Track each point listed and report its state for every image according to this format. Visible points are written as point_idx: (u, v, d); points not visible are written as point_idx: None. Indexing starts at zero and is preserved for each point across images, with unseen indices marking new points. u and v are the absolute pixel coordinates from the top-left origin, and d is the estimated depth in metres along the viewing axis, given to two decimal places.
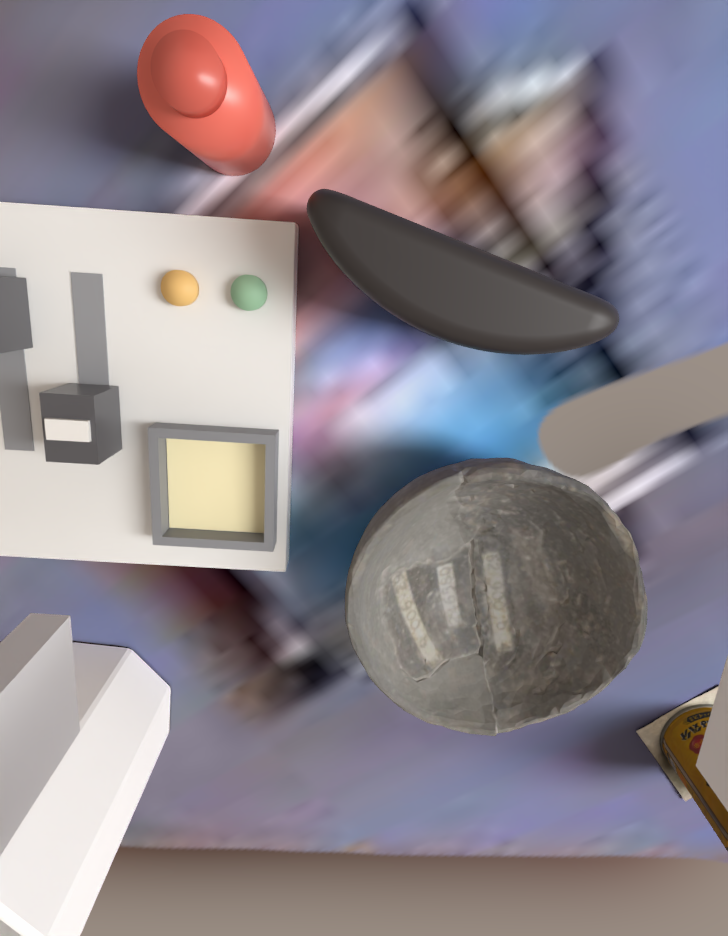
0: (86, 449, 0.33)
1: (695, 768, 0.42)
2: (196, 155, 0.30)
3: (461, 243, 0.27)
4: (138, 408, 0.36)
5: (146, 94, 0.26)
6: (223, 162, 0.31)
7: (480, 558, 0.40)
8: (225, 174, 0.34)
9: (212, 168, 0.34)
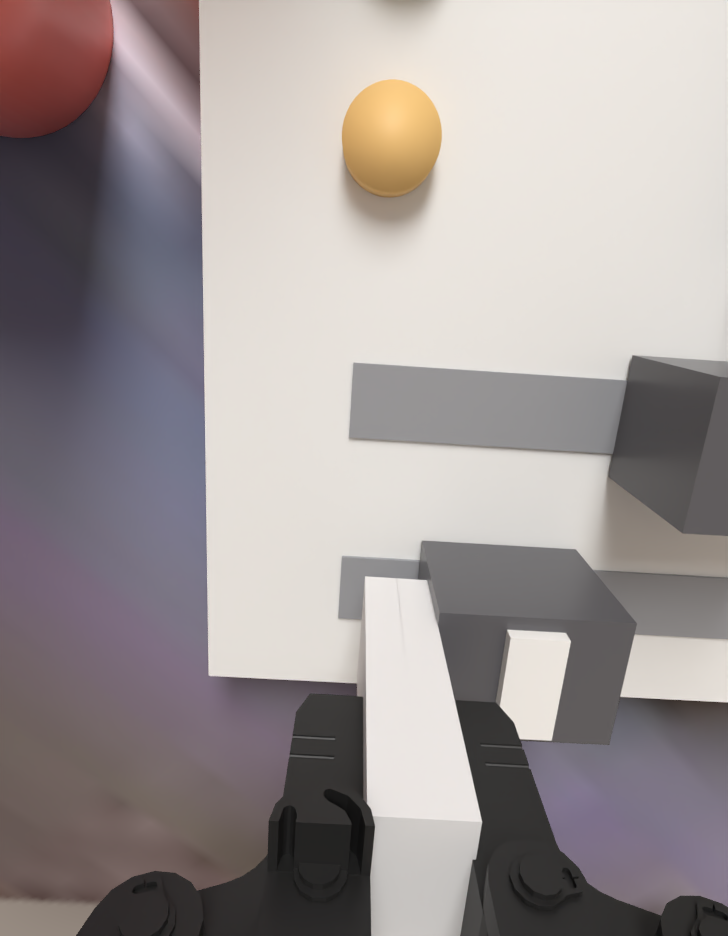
0: None
1: None
2: None
3: None
4: (698, 309, 0.13)
5: None
6: None
7: None
8: (110, 40, 0.13)
9: (94, 62, 0.13)
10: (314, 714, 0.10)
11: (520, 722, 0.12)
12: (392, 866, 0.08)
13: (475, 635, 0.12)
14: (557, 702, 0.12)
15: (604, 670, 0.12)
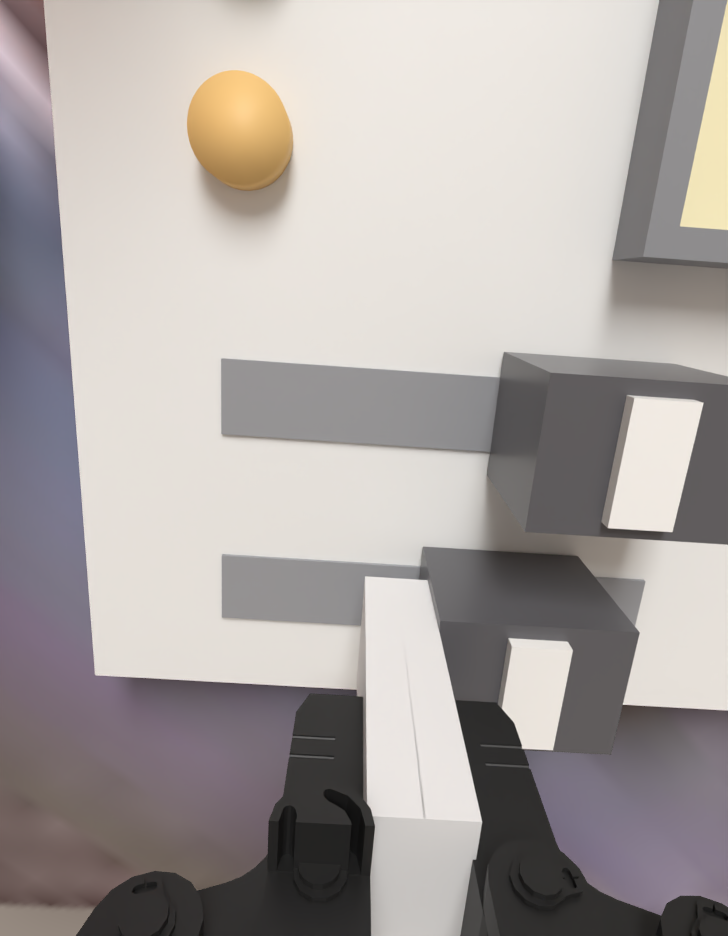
0: (718, 420, 0.10)
1: None
2: None
3: None
4: (568, 305, 0.13)
5: None
6: None
7: None
8: None
9: None
10: (313, 714, 0.10)
11: (521, 731, 0.12)
12: (392, 865, 0.08)
13: (476, 643, 0.12)
14: (559, 712, 0.12)
15: (606, 680, 0.12)
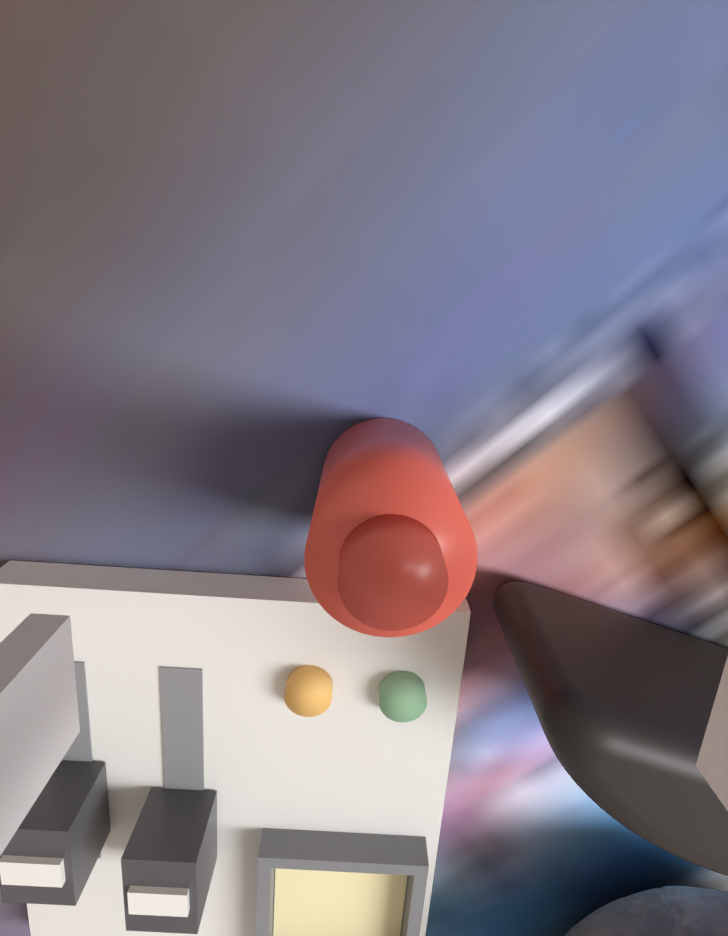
0: (181, 918, 0.24)
1: None
2: None
3: None
4: (241, 813, 0.27)
5: (316, 578, 0.17)
6: None
7: None
8: None
9: None
10: None
11: (10, 872, 0.23)
12: None
13: (57, 846, 0.23)
14: (25, 885, 0.23)
15: (46, 896, 0.24)
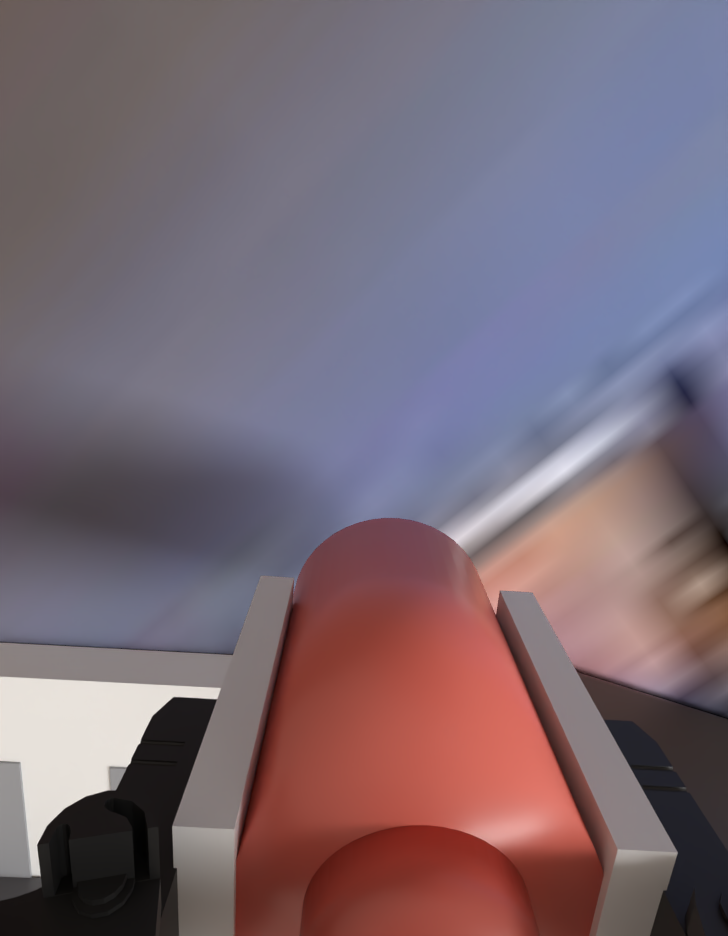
0: None
1: None
2: None
3: None
4: None
5: None
6: None
7: None
8: None
9: None
10: (170, 718, 0.10)
11: None
12: (205, 878, 0.07)
13: None
14: None
15: None
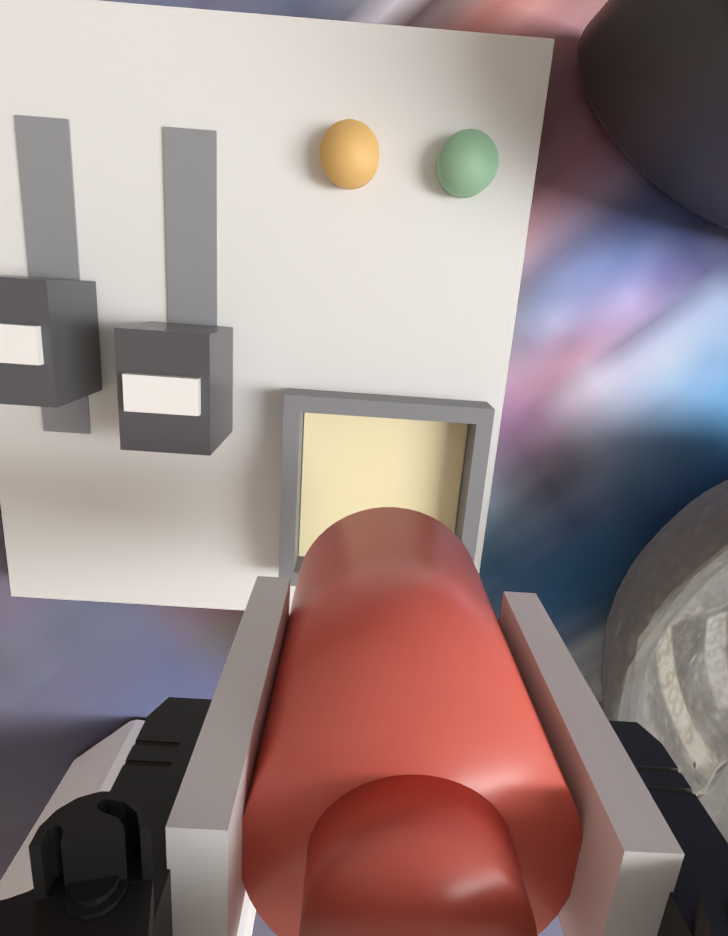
0: (190, 429, 0.19)
1: None
2: None
3: None
4: (262, 365, 0.22)
5: (262, 884, 0.09)
6: None
7: None
8: None
9: None
10: (164, 719, 0.10)
11: None
12: (198, 879, 0.07)
13: (33, 304, 0.18)
14: None
15: (20, 391, 0.19)
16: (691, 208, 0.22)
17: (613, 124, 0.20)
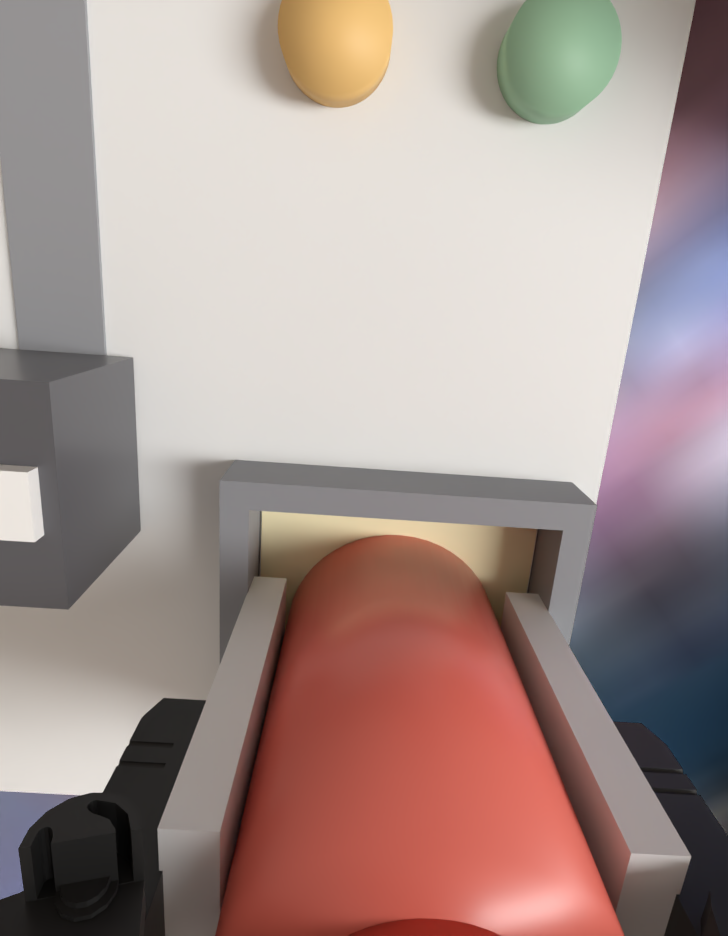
0: (26, 561, 0.10)
1: None
2: None
3: None
4: (188, 422, 0.13)
5: None
6: None
7: None
8: None
9: None
10: (159, 719, 0.10)
11: None
12: (191, 880, 0.07)
13: None
14: None
15: None
16: None
17: None
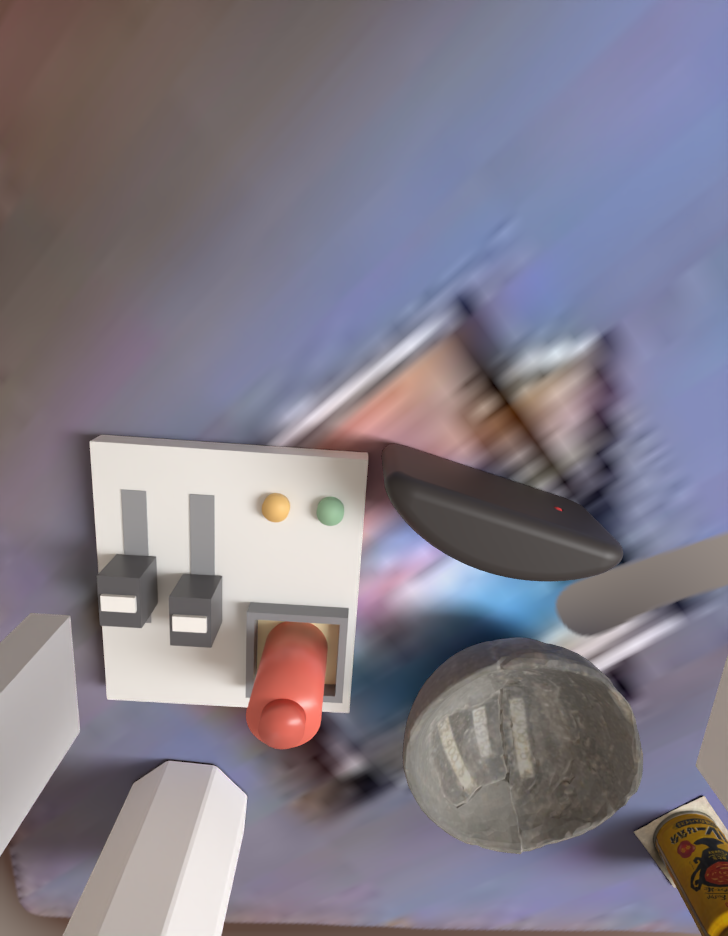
0: (202, 636, 0.42)
1: (681, 870, 0.51)
2: None
3: (502, 509, 0.36)
4: (237, 592, 0.45)
5: (251, 723, 0.39)
6: None
7: (507, 702, 0.49)
8: None
9: None
10: None
11: (106, 602, 0.41)
12: None
13: (133, 587, 0.41)
14: (114, 611, 0.42)
15: (125, 621, 0.42)
16: None
17: None
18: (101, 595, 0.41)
